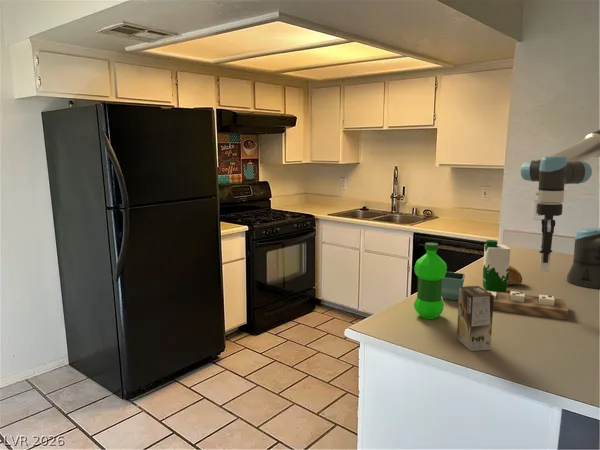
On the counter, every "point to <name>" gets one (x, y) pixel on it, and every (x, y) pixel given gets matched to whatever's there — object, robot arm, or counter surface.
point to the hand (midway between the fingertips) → (544, 271)
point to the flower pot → (452, 285)
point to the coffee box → (475, 318)
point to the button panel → (530, 306)
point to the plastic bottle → (430, 283)
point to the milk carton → (495, 266)
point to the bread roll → (514, 276)
